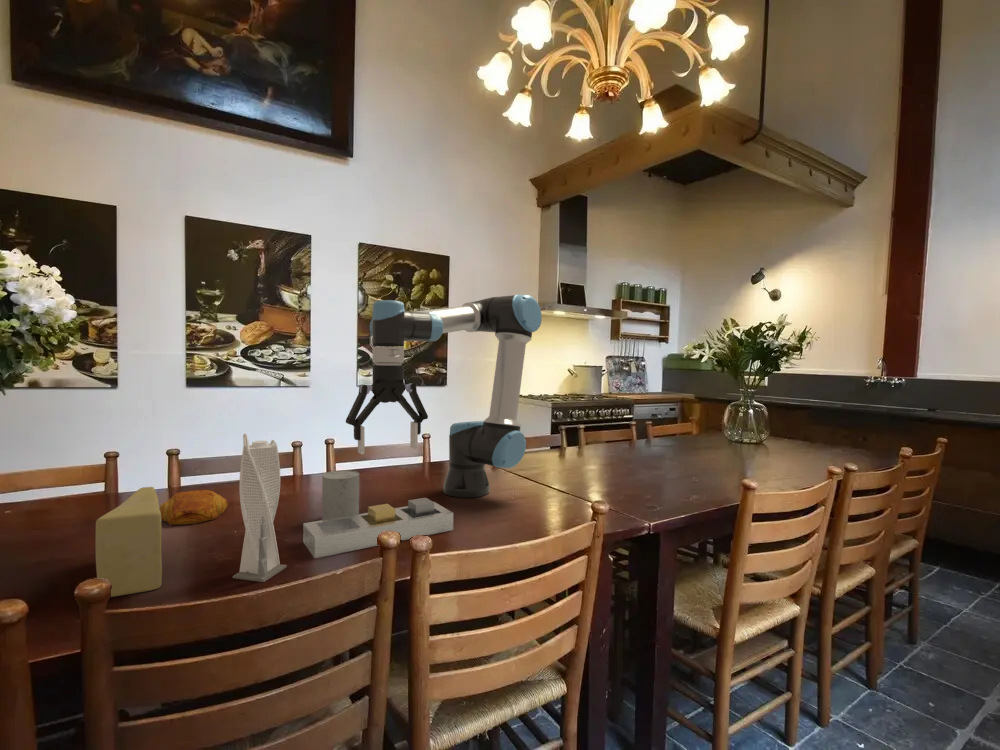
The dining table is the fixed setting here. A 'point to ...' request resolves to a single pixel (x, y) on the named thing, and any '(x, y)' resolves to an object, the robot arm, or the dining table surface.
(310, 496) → the dining table surface
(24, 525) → the dining table surface
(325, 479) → the grey flat-topped mottled cylinder
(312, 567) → the dining table surface
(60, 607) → the dining table surface
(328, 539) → the tray
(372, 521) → the tan foam cube
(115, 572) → the cheese
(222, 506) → the croissant
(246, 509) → the skyscraper
